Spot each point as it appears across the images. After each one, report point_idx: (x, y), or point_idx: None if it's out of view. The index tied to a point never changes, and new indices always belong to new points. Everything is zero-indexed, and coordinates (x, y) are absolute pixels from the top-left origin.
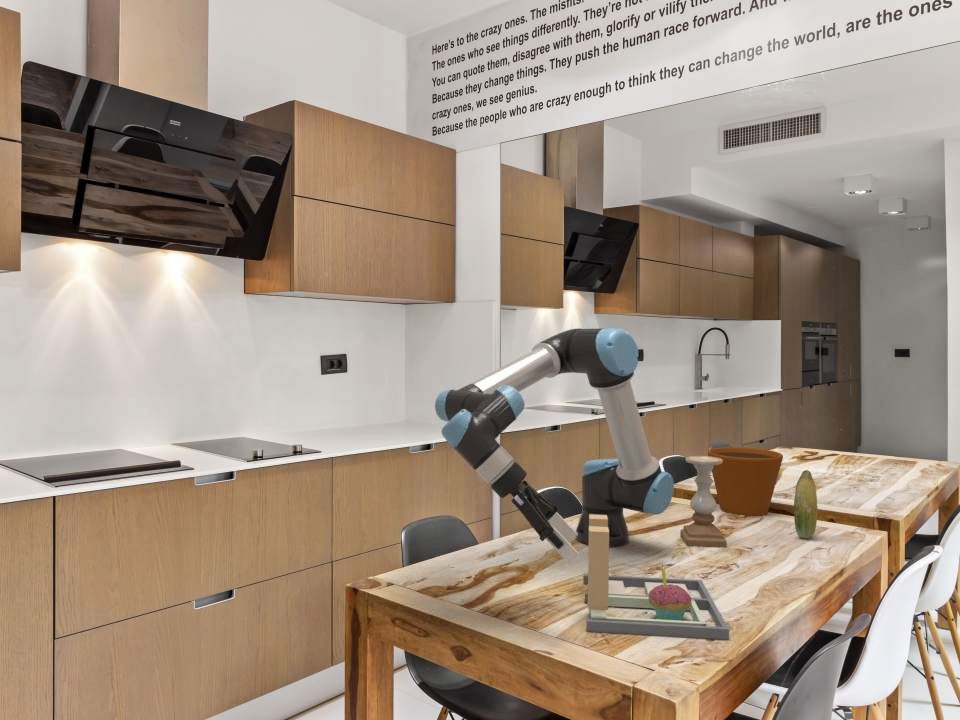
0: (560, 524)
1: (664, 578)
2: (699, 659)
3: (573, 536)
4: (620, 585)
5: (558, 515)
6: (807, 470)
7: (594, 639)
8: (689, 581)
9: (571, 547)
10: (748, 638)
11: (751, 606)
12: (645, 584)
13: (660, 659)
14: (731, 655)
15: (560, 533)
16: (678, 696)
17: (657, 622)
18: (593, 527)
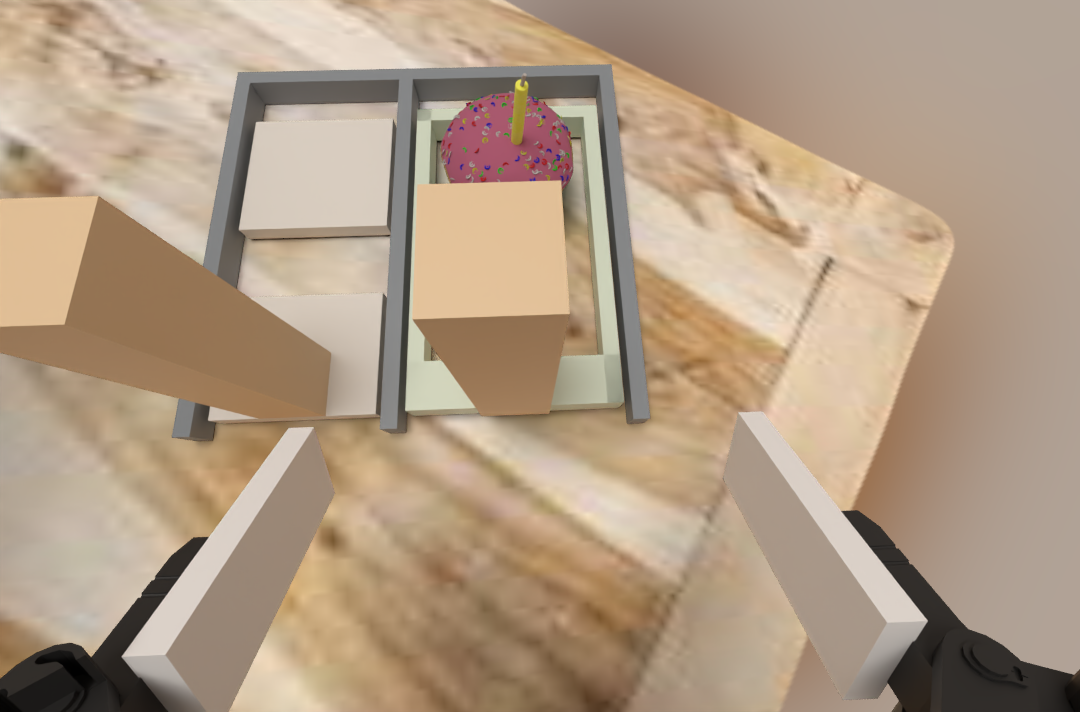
0: (255, 575)
1: (524, 115)
2: (736, 158)
3: (316, 458)
4: (275, 306)
5: (192, 620)
6: None
7: (693, 399)
8: (247, 104)
9: (793, 453)
10: (588, 49)
11: (382, 9)
12: (261, 229)
13: (766, 239)
14: (693, 95)
15: (296, 561)
16: (938, 220)
17: (606, 217)
18: (446, 283)
